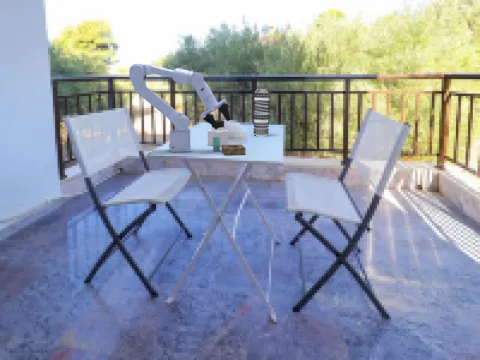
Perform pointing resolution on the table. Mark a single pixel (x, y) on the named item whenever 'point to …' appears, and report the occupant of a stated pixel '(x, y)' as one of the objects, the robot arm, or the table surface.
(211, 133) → the medicine bottle
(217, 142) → the peg
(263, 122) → the decorative candle
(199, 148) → the table surface
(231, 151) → the socket block
